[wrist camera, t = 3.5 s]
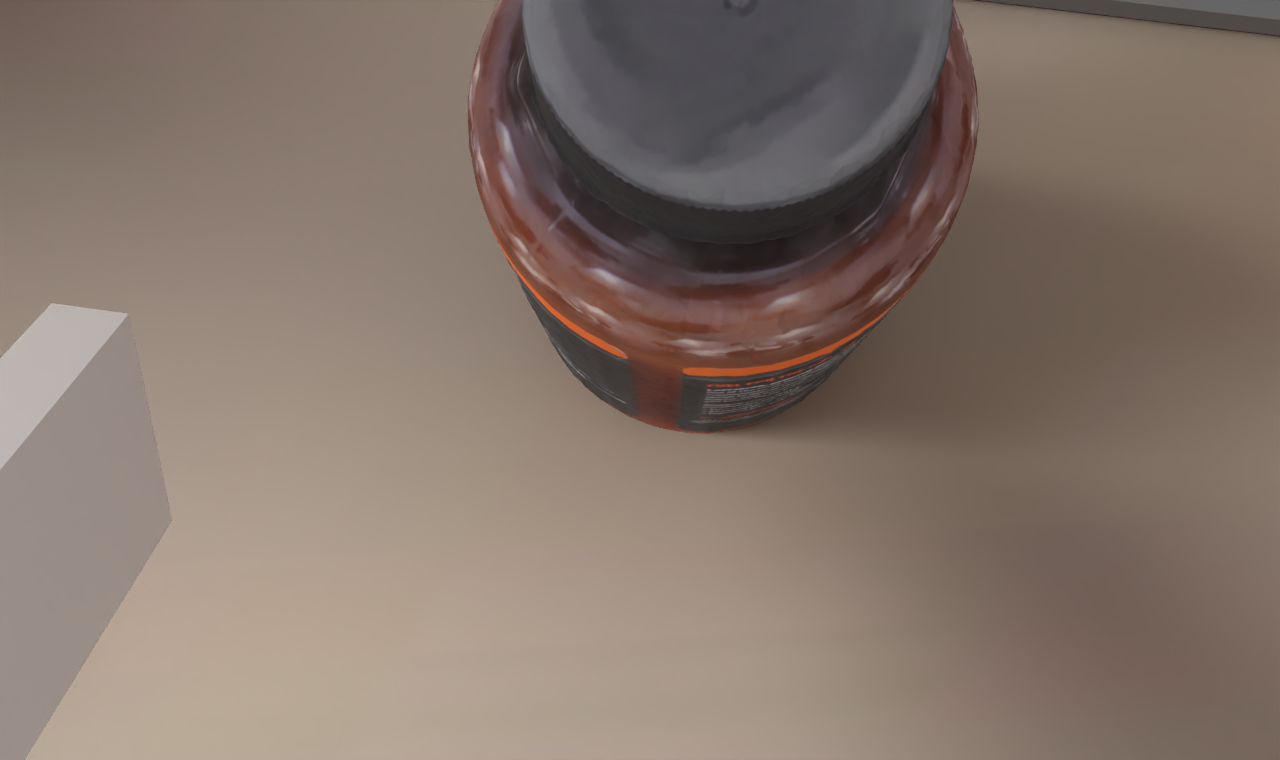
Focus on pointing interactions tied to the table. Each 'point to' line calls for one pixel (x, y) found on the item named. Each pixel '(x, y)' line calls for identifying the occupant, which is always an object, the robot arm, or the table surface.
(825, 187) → the supplement bottle
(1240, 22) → the grey flat slab
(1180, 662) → the table surface
